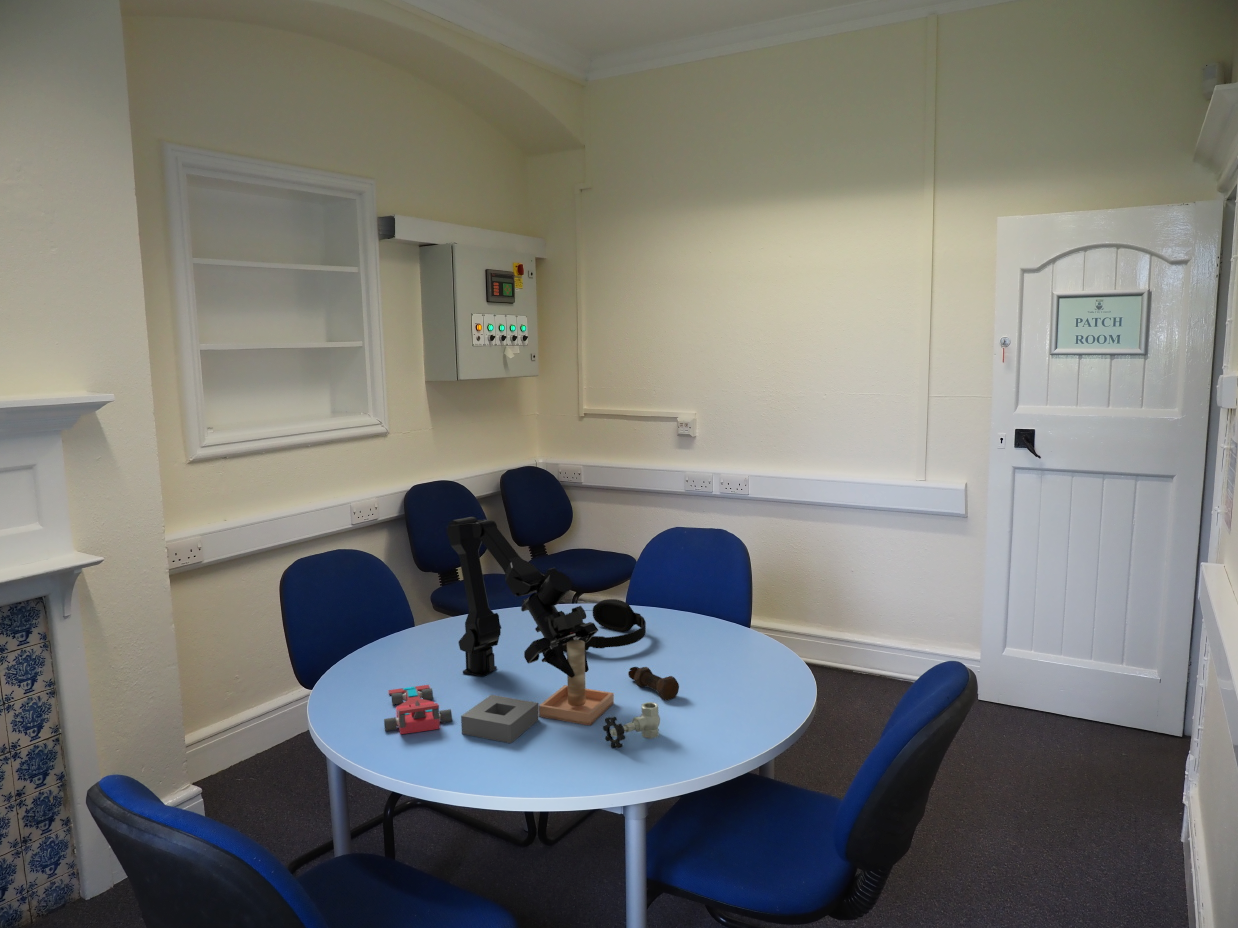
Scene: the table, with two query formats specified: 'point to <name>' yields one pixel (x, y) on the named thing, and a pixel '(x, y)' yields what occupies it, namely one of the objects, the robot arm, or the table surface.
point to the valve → (634, 725)
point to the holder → (500, 718)
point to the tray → (582, 714)
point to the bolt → (655, 682)
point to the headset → (615, 624)
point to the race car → (416, 710)
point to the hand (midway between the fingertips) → (580, 673)
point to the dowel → (576, 672)
